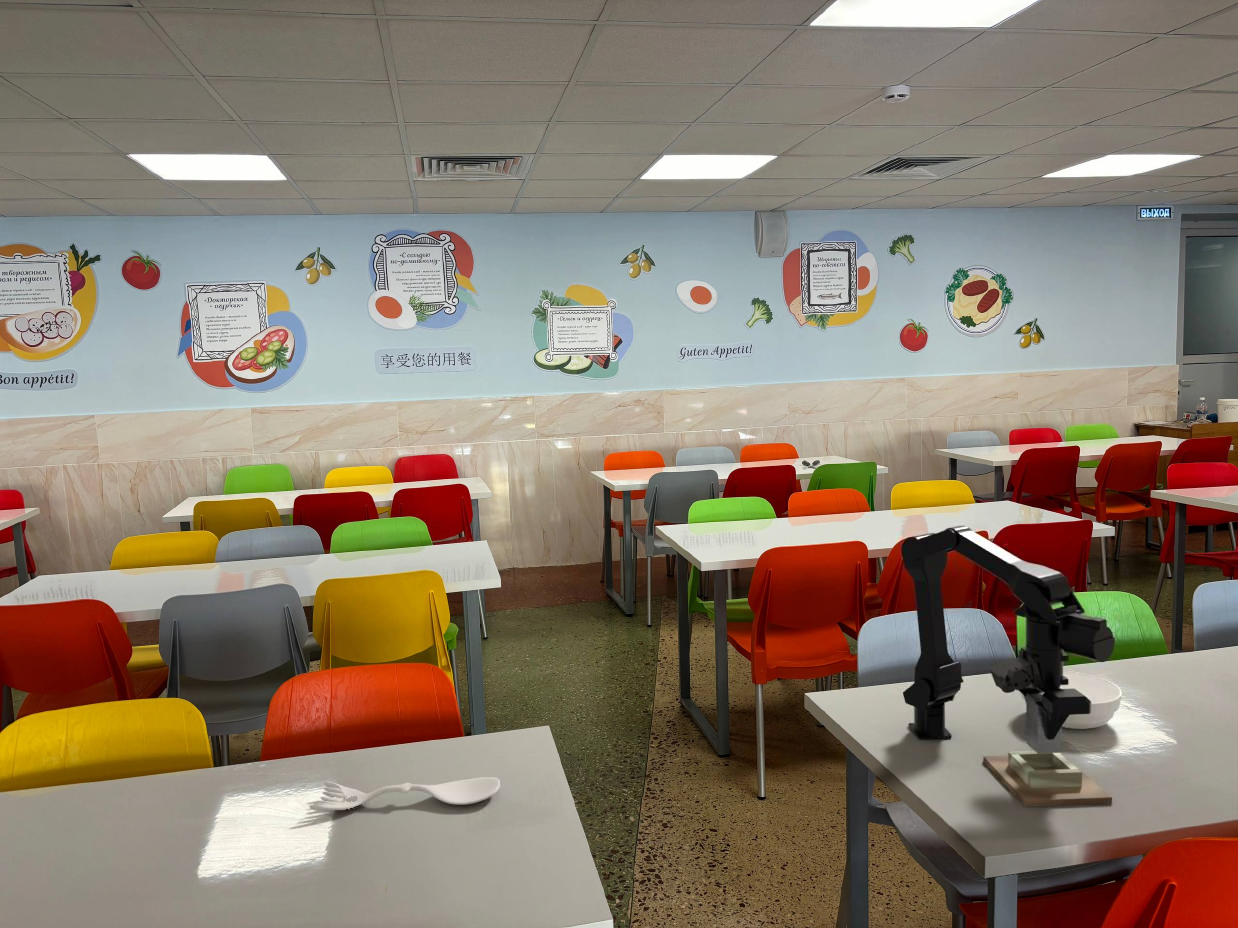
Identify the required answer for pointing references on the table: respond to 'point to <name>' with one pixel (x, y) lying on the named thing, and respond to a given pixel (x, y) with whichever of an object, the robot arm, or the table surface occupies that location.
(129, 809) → the table surface
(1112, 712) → the bowl
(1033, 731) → the grey tall block
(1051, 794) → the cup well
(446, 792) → the white spork
